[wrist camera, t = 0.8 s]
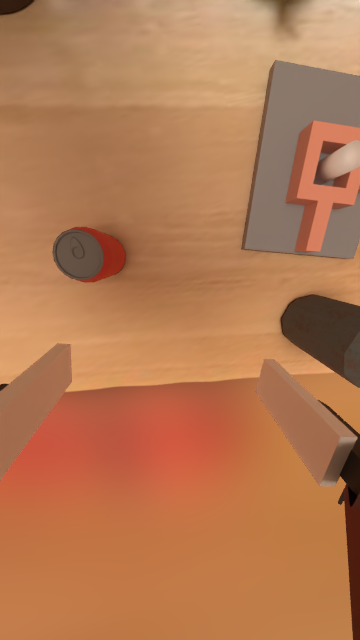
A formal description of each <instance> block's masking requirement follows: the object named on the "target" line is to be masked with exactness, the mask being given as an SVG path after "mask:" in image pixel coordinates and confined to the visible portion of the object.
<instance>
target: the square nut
mask: <svg viewBox="0 0 360 640" xmlns="http://www.w3.org/2000/svg"><path fill="white" fill-rule="evenodd" d="M355 140H358V141H360V128H358V127H352V126H345V125H339V124H333V123H327V122H321V121H314V120H313V121H312V122H311V123H310V124H309V125H308V126H307V127H306V128H305V129H303V130H302V131H301V132H300V133H299V138H298V143H297V148H296V152H295V157H294V162H293V167H292V172H291V177H290V182H289V187H288V191H287V196H286V201H285V203H289V204H297V205H305V208H304V212H303V216H302V221H301V225H300V229H299V234H298V238H297V242H296V247H295V251H300V252H320V251H321V247H322V243H323V239H324V235H325V232H326V228H327V224H328V220H329V217H330V213H331V209H341V208H345V207H348V206H352V205H354V204H355V200H356V197H357V193H358V190H359V186H360V166H359V167H358V168H356V169H354V170H352V171H350V172H348V173H346V174H343V175H341V176H339V177H337V178H335V179H334V182H333V186H324V185H317V184H313V182H314V178H315V174H316V169H317V165H318V161H319V157H320V153H325V154H332V153H333V152H335V151H337V150H338V149H340V148H342V147H343V146H345V145H347V144H348V143H350V142H352V141H355Z"/></svg>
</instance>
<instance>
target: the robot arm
mask: <svg viewBox="0 0 360 640" xmlns="http://www.w3.org/2000/svg"><path fill="white" fill-rule="evenodd" d="M31 1H32V0H0V13H9V12H13V11H16V10H19V9H21V8H23V7H24V6H26V5H27V4H28V3H30V2H31ZM71 382H72V371H71V344H59V343H58V344H57V345H56V346H54V347H53V348H52V349H51V350H50V351H48V352H47V353H46V354H45V355H43V356H42V357H41V358H40V359H39V360H37V361H36V362H35V363H34V364H33V365H31V366H30V367H29V368H28V369H27V370H25V371H24V372H23V373H22V374H21V375H19V376H18V377H17V378H16V379H15V380H13V381H12V382H11V383H10V384H1V385H0V480H1V478H2V477H3V476H4V474H5V473H6V472H7V470H8V469H9V468H10V466H11V465H12V463H13V462H14V461H15V459H16V458H17V457H18V455H19V454H20V452H21V451H22V450H23V448H24V447H25V446H26V444H27V443H28V441H29V440H30V439H31V437H32V436H33V435H34V433H35V432H36V430H37V428H39V426H40V425H41V423H42V422H43V421H44V419H45V418H46V416H47V415H48V413H49V412H50V411H51V410H52V408H53V407H54V406H55V404H56V403H57V401H58V400H59V399H60V397H61V396H62V394H63V393H64V392H65V390H66V389H67V388H68V386H69V385H70V384H71ZM256 393H257V395H258V396H259V398H260V399H261V401H262V402H263V404H264V405H265V406H266V408H267V410H268V411H269V412H270V414H271V415H272V417H273V418H274V420H275V421H276V423H277V424H278V426H279V427H280V428H281V430H282V431H283V433H284V435H285V436H286V438H287V439H288V440H289V442H290V443H291V445H292V446H293V448H294V449H295V451H296V452H297V454H298V455H299V457H300V458H301V460H302V461H303V463H304V464H305V466H306V467H307V469H308V470H309V471H310V473H311V474H312V476H313V477H314V479H315V480H316V482H317V483H318V485H319V486H335V485H336V483H337V481H338V479H339V477H340V476H341V477H342V479H343V480H344V481H345V482H346V486H345V488H344V490H343V492H342V494H341V496H340V498H339V501H338V504H340V505H341V504H342V502H343V501H345V516H346V533H347V548H348V565H349V582H350V597H351V612H352V613H351V614H352V630H353V640H360V434H359V433H358V432H356V431H355V430H354V429H353V428H352V427H351V426H350V425H349V424H348V423H347V422H345V421H343V419H342V418H341V417H340V416H339V415H337V413H336V412H334V411H333V410H332V409H331V408H330V407H329V406H327V405H326V404H324V403H323V402H321V401H319V400H317V399H316V398H315V397H314V396H313V395H312V394H311V393H309V392H308V391H307V390H306V389H305V388H304V387H303V386H302V385H301V384H300V383H299V382H298V381H297V380H296V379H295V378H293V377H292V376H291V375H290V374H289V373H288V372H287V371H286V370H285V369H284V368H283V367H282V366H281V365H280V364H278V363H277V362H276V361H275V360H272V359H264V362H263V366H262V369H261V373H260V377H259V381H258V385H257V389H256Z"/></svg>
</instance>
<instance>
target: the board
mask: <svg viewBox="0 0 360 640" xmlns="http://www.w3.org/2000/svg"><path fill="white" fill-rule="evenodd" d="M313 120H314V121H321V122H327V123H333V124H339V125H345V126H352V127H358V128H360V76H357V75H352V74H346V73H341V72H336V71H330V70H325V69H320V68H314V67H309V66H304V65H298V64H293V63H288V62H283V61H277V60H275V62H274V64H273V65H272V67H271V69H270V73H269V79H268V85H267V91H266V98H265V104H264V110H263V117H262V123H261V129H260V135H259V142H258V148H257V154H256V160H255V167H254V173H253V179H252V186H251V192H250V198H249V204H248V211H247V217H246V223H245V229H244V236H243V242H242V248H241V249H246V250H256V251H267V252H278V253H289V254H300V255H311V256H321V257H332V258H343V259H353V258H354V255H355V252H356V249H357V246H358V242H359V239H360V193H358V194H357V197H356V200H355V204H354V205H352V206H348V207H345V208H341V209H331V213H330V217H329V220H328V224H327V228H326V232H325V235H324V239H323V243H322V247H321V251H320V252H300V251H295V247H296V242H297V238H298V234H299V229H300V225H301V221H302V216H303V212H304V208H305V205H297V204H289V203H285V201H286V196H287V191H288V187H289V182H290V177H291V172H292V167H293V162H294V157H295V152H296V148H297V143H298V138H299V133H300V132H301V131H302V130H303V129H305V128H306V127H307V126H308V125H309V124H310V123H311V122H312V121H313ZM359 166H360V141H358V140H355V141H352V142H350V143H348V144H347V145H345V146H343V147H342V148H340V149H338V150H337V151H335V152H333V153H332V154H325V153H320V157H319V161H318V165H317V169H316V174H315V178H314V182H313V184H317V185H324V186H333V182H334V179H335V178H337V177H339V176H341V175H343V174H346V173H348V172H350V171H352V170H354V169H356V168H358V167H359Z"/></svg>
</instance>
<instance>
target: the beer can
mask: <svg viewBox="0 0 360 640" xmlns="http://www.w3.org/2000/svg"><path fill="white" fill-rule="evenodd" d="M53 257H54V261H55V263H56V265H57V267H58V268H59V269H60V270H61V271H62V272H63V273H64V274H65V275H66V276H68V277H70V278H72V279H75V280H78V281H82V282H96V281H98V280H101V279H104V278H106V277H109V276H111V275H114V274H117V273H118V272H119V271H120V270H121V269H122V267H123V266H124V263H125V259H126V258H125V251H124V249H123V246H122V245H121V243H120V242H119V241H118V240H117V239H115V238H114V237H112V236H110V235H107V234H105V233H102V232H99V231H97V230H94V229H91V228H88V227H75V228H72V229H70V230H67V231H65V232H62V233H61V234H60V235H59V236H58V237H57V239H56V241H55V243H54V245H53Z"/></svg>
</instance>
